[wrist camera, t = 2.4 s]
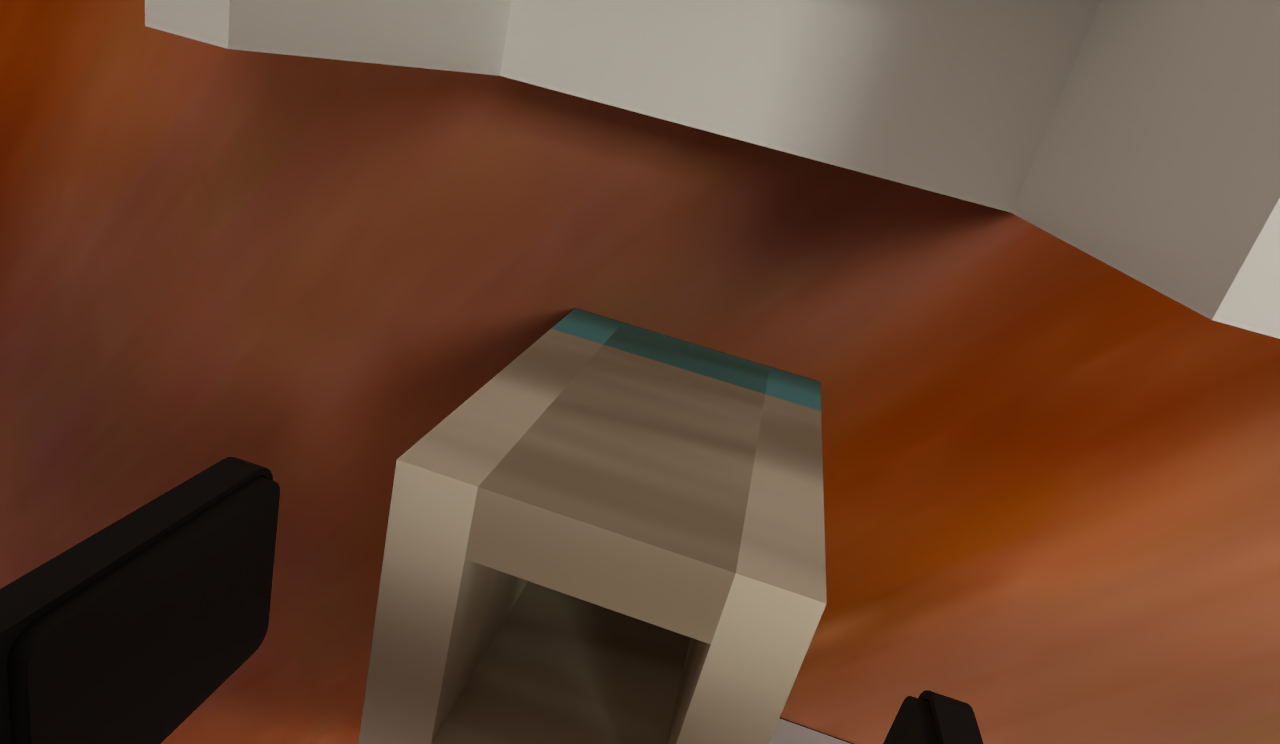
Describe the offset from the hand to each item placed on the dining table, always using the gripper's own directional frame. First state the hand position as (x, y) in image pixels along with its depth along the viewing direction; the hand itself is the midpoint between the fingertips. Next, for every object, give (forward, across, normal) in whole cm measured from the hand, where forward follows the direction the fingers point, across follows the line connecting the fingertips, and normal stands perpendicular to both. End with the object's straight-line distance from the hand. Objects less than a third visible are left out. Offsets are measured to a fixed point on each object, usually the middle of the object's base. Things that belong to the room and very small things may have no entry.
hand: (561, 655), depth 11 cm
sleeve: (+6, 0, -1) cm, 6 cm away
